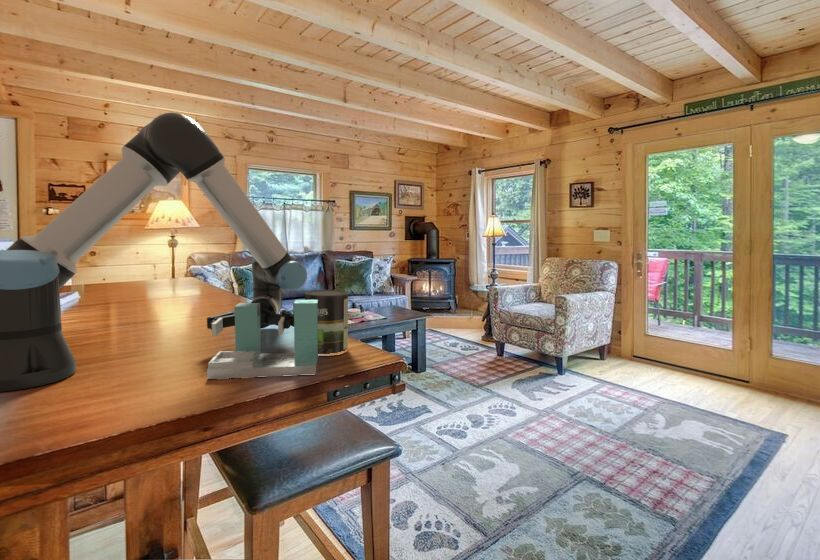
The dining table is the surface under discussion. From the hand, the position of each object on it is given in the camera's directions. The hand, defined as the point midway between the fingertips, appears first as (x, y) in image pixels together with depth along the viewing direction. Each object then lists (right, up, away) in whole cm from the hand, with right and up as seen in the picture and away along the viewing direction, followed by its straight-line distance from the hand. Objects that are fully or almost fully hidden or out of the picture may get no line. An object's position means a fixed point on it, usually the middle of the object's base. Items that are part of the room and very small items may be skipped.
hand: (247, 329), depth 93 cm
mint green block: (-1, -7, +3) cm, 7 cm away
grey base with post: (+6, -8, -5) cm, 11 cm away
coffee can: (+15, -6, +10) cm, 19 cm away
